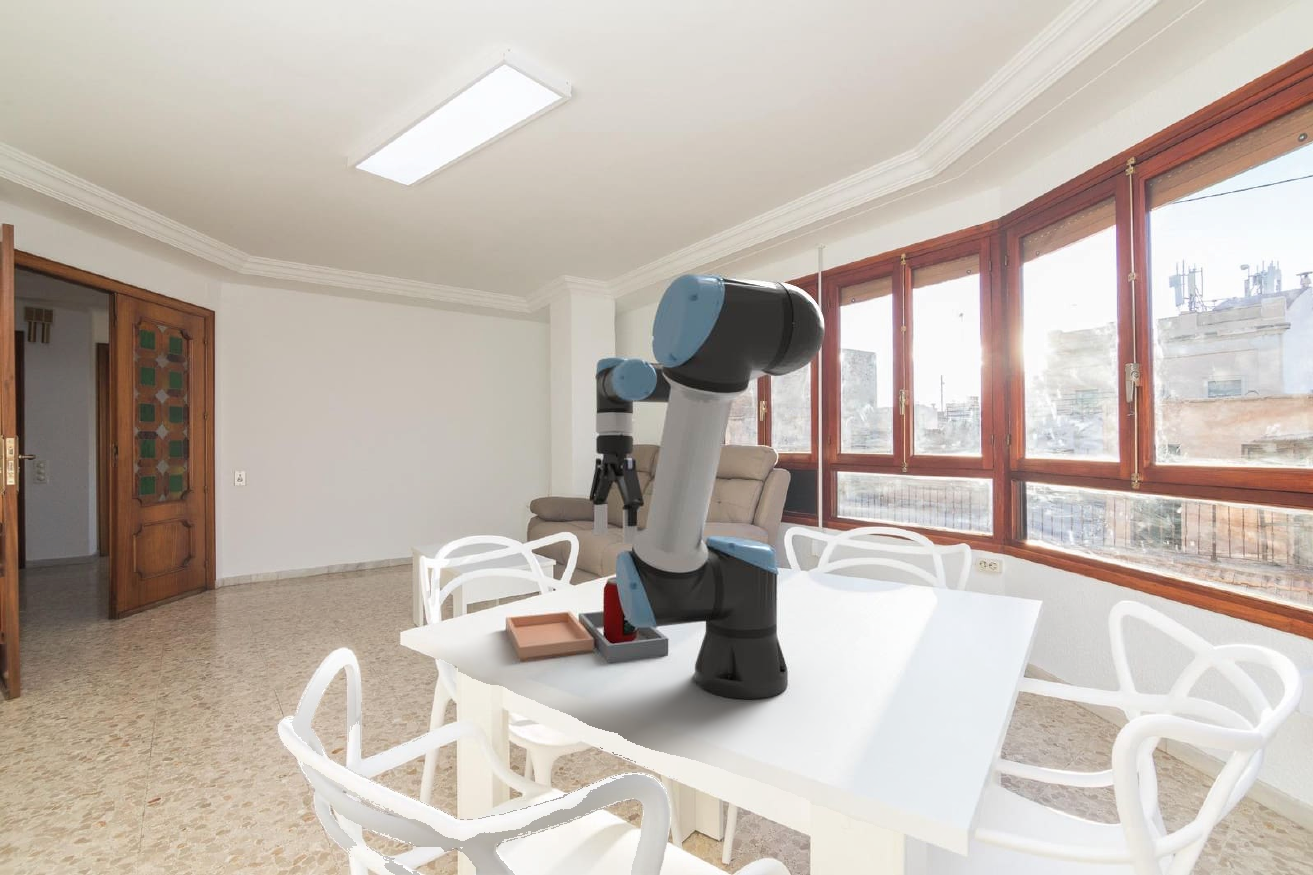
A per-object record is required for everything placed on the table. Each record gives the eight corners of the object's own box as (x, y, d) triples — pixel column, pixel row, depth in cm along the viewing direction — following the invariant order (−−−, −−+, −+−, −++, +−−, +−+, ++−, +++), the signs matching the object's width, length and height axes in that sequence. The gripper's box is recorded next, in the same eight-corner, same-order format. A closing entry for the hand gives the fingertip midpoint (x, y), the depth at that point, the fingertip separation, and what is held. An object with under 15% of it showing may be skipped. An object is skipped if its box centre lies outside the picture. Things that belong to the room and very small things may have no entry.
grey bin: (668, 655, 111) (668, 638, 111) (607, 662, 107) (607, 645, 107) (630, 622, 131) (630, 608, 131) (578, 627, 127) (578, 613, 127)
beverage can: (636, 646, 115) (636, 583, 115) (601, 646, 116) (601, 583, 116) (638, 635, 122) (638, 576, 122) (605, 635, 122) (605, 575, 122)
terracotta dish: (593, 652, 112) (593, 639, 112) (519, 661, 107) (519, 647, 107) (570, 622, 130) (570, 611, 130) (505, 629, 125) (505, 617, 125)
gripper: (661, 432, 114) (661, 545, 113) (605, 437, 136) (605, 531, 135) (625, 432, 110) (626, 548, 110) (574, 436, 132) (574, 533, 131)
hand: (614, 539), depth 122 cm, fingers open, 13 cm apart
